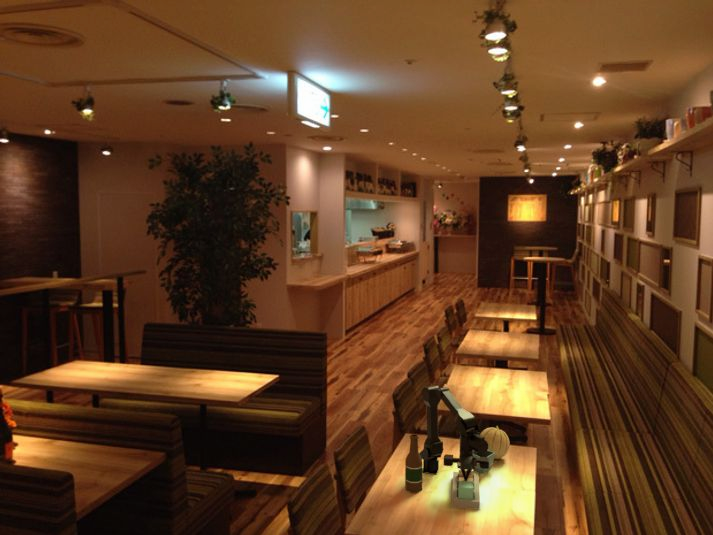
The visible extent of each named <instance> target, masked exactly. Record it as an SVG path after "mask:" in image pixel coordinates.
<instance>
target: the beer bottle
mask: <svg viewBox="0 0 713 535" xmlns="http://www.w3.org/2000/svg"><path fill="white" fill-rule="evenodd" d="M409 439H410V443H409V450H408V451H409V452H408V453H407V455H406V457H405V463H404V465H405V466H404V468H405V469H404V470H405V474H404V475H405V477H404V480H405V481H404V484H405V485H404V487H405V491H407V492H409V493H411V494H413V493H414V494H418V493H420V492H422V490H423V474H424V473H423V459H422V458H421V456H420V454H419V453H420V452H419V440H418V439H419V435H418V434H416V433H414V434H413V433H412V434H410V435H409Z"/></svg>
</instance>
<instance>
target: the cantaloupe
mask: <svg viewBox="0 0 713 535" xmlns="http://www.w3.org/2000/svg"><path fill="white" fill-rule="evenodd" d="M479 435H480V436H483V437H485V441H487V443H488V451H491V452H494V453H495V455H494V460H500V459H502V458H503V457H505V456H506V455H507V454H508V452H509V449H510V446H511V445H510V444H511V443H510V439H509V436H508V435H507V433H506V432H505V431H504V430H502V429H500V428H499V426H498V425H496V427H493V426H492V427H487V428H485V429H483V430H482V431H481V434H479Z"/></svg>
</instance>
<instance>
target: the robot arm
mask: <svg viewBox="0 0 713 535" xmlns="http://www.w3.org/2000/svg"><path fill="white" fill-rule="evenodd" d="M421 395H422V396H421V397H422V401H423V402H424V404H425V406H426V407H425V408H426V439H425V440H424V443H423V449H421V451H420V452H419V454H420V456H421V458H422V465H423V473H422V474H435V475H437V474H438V472H439V470H440V469H439V465H440V464H439V462H440V461H439V460H440V459H439V458H442V454H443V452H444V442H443V441H441V439H440V438H439V414H438V413H439V412H438V410H439V408H438V406H439V404H440V402H441V401H442V402H443V404H444V406H446V407H447V409H448V410H449V411H450V413H451V414H452V415H453V417H454V422H455V424H456V426H457V428H458V429H457V430H456V433H458V434H459V453H458V454H459V456H458V457H454V454H444V455H443V466H444V467H445V466H446V467H452V466H453V465H454V463H456V464H457V465H456V467H457V469H459V468H460V469H461V471H462V474H463V477H464V480H465V481H467V479H468V477H469V474H470V472H471V470H472V469H475V466H477V464H480V467H481V468H483V469H489V458H488V457H479V460H477V458H475V457H473V450H474V451H476V452H478V453H480V454H484V453H485V452H486V451H487V450H488V443H487V441H485V437H483V436H480V434H481V432H482V431H481V428H480V425H479V423H478V420H477V419H476V417H475V415H473V414H472V413H471V412H469V411H468V410H466V409H465V408H463V407H462V405H461V404H460V403H459V402H458V400H457V399H456V398H455V396H454V395H453V394H452V392H451V391H450V388H449V387H447V386H439V385H437V384H436V385H431V386H425V387H423V388H422V389H421ZM465 469H467V472H466V473H465Z"/></svg>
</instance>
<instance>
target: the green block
mask: <svg viewBox="0 0 713 535" xmlns="http://www.w3.org/2000/svg"><path fill="white" fill-rule="evenodd" d="M458 481H459V480H458ZM473 482H474V481H473ZM473 482H471V481H459V489H458V488H457V489H458V497H457V499H468V500H474V499H473V492H474V485H473Z"/></svg>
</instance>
